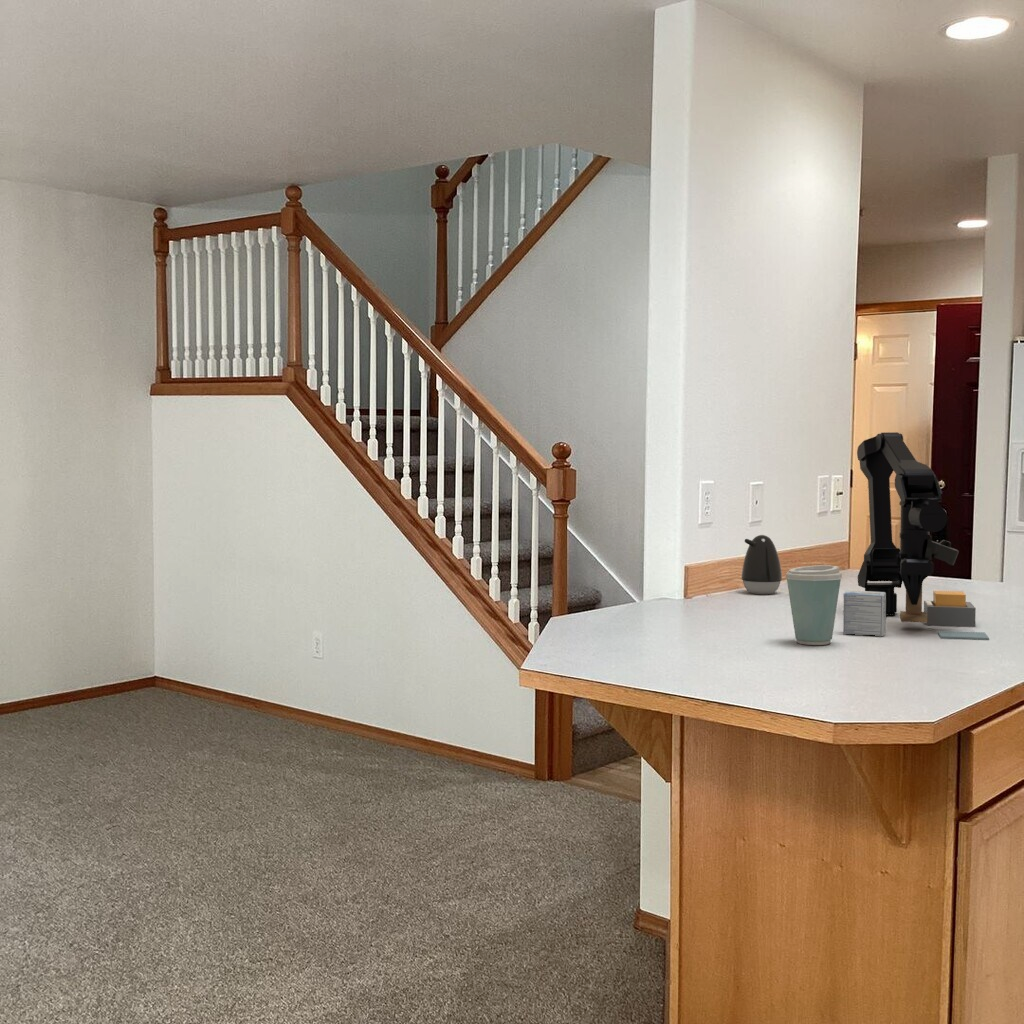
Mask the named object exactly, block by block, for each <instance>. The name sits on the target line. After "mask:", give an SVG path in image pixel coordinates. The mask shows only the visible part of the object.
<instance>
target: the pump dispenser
mask: <svg viewBox="0 0 1024 1024" xmlns="http://www.w3.org/2000/svg"><path fill="white" fill-rule="evenodd" d="M744 543H745V544H747V545H748V548H747V550H746V552H745V556H744V558H743V559H744V560H743V564H742V571H741V580H742V582H743V583H742V584H743V586H744V588H745V589H746V591H747V592H749V593H750V594H753V595H758V596H759V595H761V596H762V595H763V596H764V595H772V594H773V593H775V592H777V590H778V589H779V587H780V586H781V585H780V584H781V581H782V579H783V574H782V573H783V572H782V566H781V562H780V561H781V560H780V557H779V554H778V551H777V548H776V545H775V543H774V541H773V540H772V539H771V538H770V536H767V535H764V534H760V535H757V536H755V537H754V538H753V539H749V538H745V539H744Z"/></svg>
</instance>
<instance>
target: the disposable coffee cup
mask: <svg viewBox="0 0 1024 1024" xmlns="http://www.w3.org/2000/svg"><path fill="white" fill-rule="evenodd" d="M785 579H786V583H787V590H788V596H789V603H790V610H791V617H792V624H793V629H794V637H795V639H796V642H797V643H798V644H799V645H807V646H825V645H829V644H831V641H832V640H833V634H834V629H835V628H834V627H835V621H836V620H835V619H836V613H837V609H838V608H837V606H838V599H839V594H840V589H841V581H842V579H843V576H842V572H840V567H839V566H838V565H837V566H836V565H829V564H821V565H808V566H799V567H794V568H791V569H789V570H788V571H787V572H786V573H785Z"/></svg>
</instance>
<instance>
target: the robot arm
mask: <svg viewBox="0 0 1024 1024" xmlns="http://www.w3.org/2000/svg"><path fill="white" fill-rule="evenodd" d="M856 454H857V460H858V461H859V467H860V470H861V472H862V474H863V475H864V476H865V477H866V479H867V486H868V487H867V488H868V508H869V510H868V513H869V532H870V534H869V535H870V544H869V545H868V547H867V549H866V550H865V552H864V554H863V561H862V564H861V567H860V569H859V572H858V575H857V585H858V586H859V587H861V588H863V589H864V591H873V592H885V593H886V616H896V615H895V614H896V613H897V611H898V610H897V609H898V607H897V606H898V604H897V603H898V594H897V592H895V588H899V589H901V588H902V585H903V586H904V588H905V591H906V590H907V593H908V596H909V599H910V601H911V604H912V605H917V603H918V599H919V595H920V591H921V586H922V587H923V582H924V580H925V579H926V578H928V577H929V576H931V575H932V574H934V573H935V572H934V569H935V567H934V565H935V564H934V563H933V562H932V561H931V560H932V558H934V559H937V560H939V561H942V562H945V563H946V564H948V565H950V566H954V565H955V563H956V560H957V557H958V555H959V552H960V551H959V550H958V549H956V548H954V547H952V542H950V541H948V540H945V539H942V540H941V541H940V542H936V541H933V536H932V535H931V534H930V533H937V532H941V530H944V528H945V527H946V525H947V523H948V519H949V518H948V513H947V512H946V511H947V510H946V509H945V508H944V507H943V506H942V505H940V504H939V502H942V501H943V498H942V497H943V490H942V488H941V486H940V483H939V480H938V478H937V476H936V474H935V473H934V471H933V469H932V468H930V466H928V464H925V463H922V462H919V461H917V460H916V459H917V458H915V456H914V455H913V454H912V452H911V450H910V449H909V447H908V446H907V444H906V443H905V441H904V436H903V433H899V432H896V431H895V432H890V431H889V432H888V431H887V432H880V433H878V434H876V435H875V436H873V437H870V438H867V439H864V440H863V441H862V442H861V443H860V444H859V445H858V446H857V451H856ZM893 472H894V473H895V477H894V488H895V490H896V492H897V495H898V497H899V500H900V501H899V506H900V528H899V529H900V532H899V540H900V541H899V547H897V546H896V545H895V543H894V542H893V527H892V525H893V524H892V506H891V505H892V504H891V485H890V479H891V476H892V474H893Z"/></svg>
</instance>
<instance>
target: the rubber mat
mask: <svg viewBox="0 0 1024 1024" xmlns="http://www.w3.org/2000/svg"><path fill="white" fill-rule="evenodd" d="M937 634H938V636H939V638H940V639H948V640H949V639H951V640H952V639H954V640H957V639H958V640H978V641H979V640H981V641H989V640H990V637H989V636H988V634H986V632H981V631H979V632H978V631H958V630H957V631H953V630H937Z"/></svg>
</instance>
